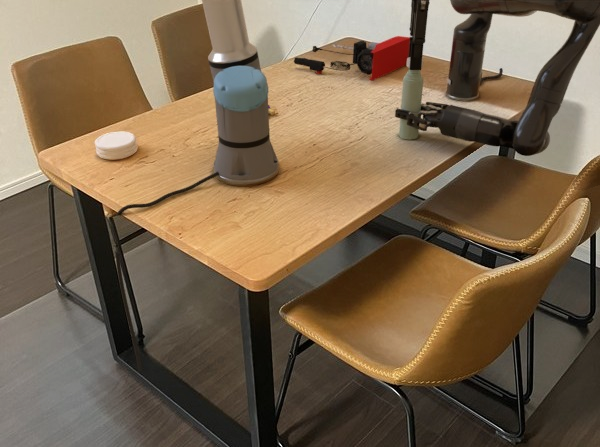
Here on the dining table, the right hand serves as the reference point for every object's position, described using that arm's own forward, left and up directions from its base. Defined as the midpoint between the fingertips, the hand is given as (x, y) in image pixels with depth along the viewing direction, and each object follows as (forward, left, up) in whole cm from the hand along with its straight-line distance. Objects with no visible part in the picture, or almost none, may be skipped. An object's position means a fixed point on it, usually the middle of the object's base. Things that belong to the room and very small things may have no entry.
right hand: (401, 109), depth 159 cm
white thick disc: (+49, -53, -7) cm, 73 cm away
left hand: (0, +3, +12) cm, 12 cm away
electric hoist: (-40, -39, -7) cm, 56 cm away
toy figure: (+9, -41, -7) cm, 43 cm away
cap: (0, +3, +13) cm, 13 cm away
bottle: (0, +3, -7) cm, 7 cm away
